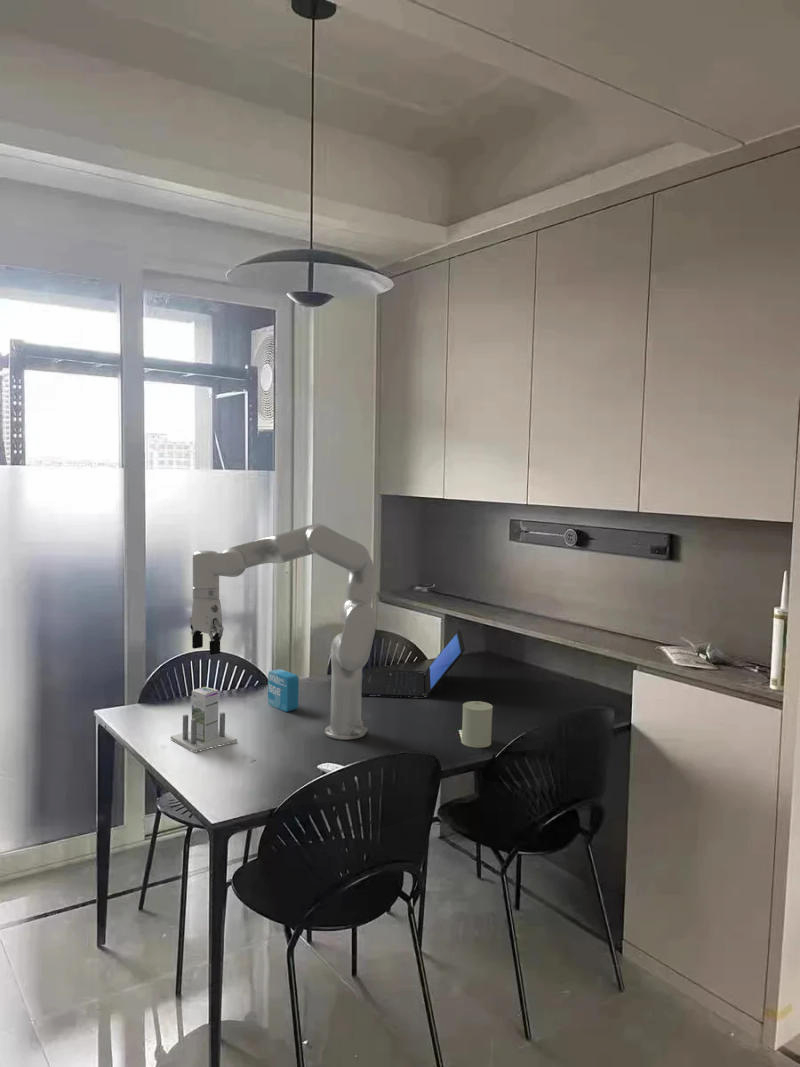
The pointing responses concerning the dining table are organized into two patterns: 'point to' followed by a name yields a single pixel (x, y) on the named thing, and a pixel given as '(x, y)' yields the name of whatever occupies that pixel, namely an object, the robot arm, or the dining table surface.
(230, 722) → the dining table surface
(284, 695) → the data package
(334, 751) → the dining table surface
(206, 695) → the syrup box
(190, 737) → the peg stand
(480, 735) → the can
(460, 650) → the laptop
